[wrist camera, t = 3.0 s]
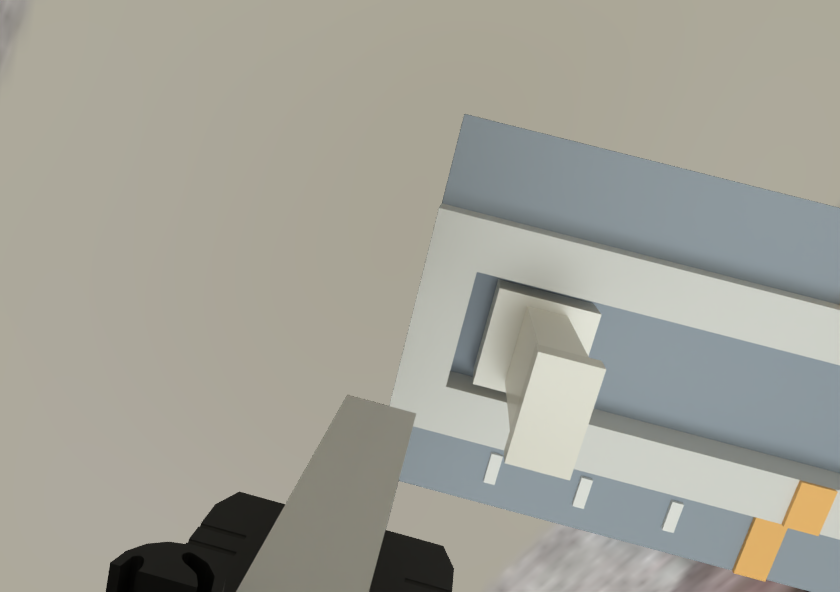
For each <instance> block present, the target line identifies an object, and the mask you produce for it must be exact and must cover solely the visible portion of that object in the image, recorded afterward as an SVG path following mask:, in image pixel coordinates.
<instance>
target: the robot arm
mask: <svg viewBox="0 0 840 592" xmlns="http://www.w3.org/2000/svg"><path fill="white" fill-rule="evenodd" d="M415 417H416V413H413V412H409V411H406V410H402V409H398V408H395V407H391V406H387V405H384V404H380V403H376V402H372V401H369V400H365V399H361V398H358V397H354V396H350V395H347V396H346V398H345V400H344V401H343V404H342V405H341V407H340V409H339V410H338V412H337V414H336V416H335V418H334V419H333V421H332V423H331V425H330V426H329V428H328V430H327V432H326V434H325V435H324V437H323V439H322V441H321V442H320V444H319V446H318V448H317V449H316V451H315V453H314V455H313V456H312V458H311V460H310V462H309V464H308V465H307V467H306V469H305V471H304V472H303V474H302V476H301V478H300V479H299V481H298V483H297V485H296V486H295V489H294V490H293V492H292V494H291V495H290V497H289V499H288V501H287V502H286V504H282V503H278V502H275V501H271V500H267V499H264V498H260V497H256V496H253V495H249V494H246V493H242V492H238V493H236V494H234V495H232V496H230V497H229V498H227V499H225V500H223V501H221V502H219V503H217V504H215V506H214V507H213V508H212V510H211V511H210V512H209V514H208V515H207V516H206V518H205V519H204V520H203V522H202V523H201V526H200V527H198V528H197V529H196V531H195V532H194V533H193V535H192V536H191V537H190V539H189V542H188V543H186V544H181V543H174V542H161V543H151V544H145V545H142V546H139V547H137V548H134V549H131V550H128V551H125V552H124V553H123V554H121V555H120V556H119V557H118V558H116V559H115V560H114V561H112V562H111V563H110V569H109V575H108V581H107V588H106V592H452V584H453V572H454V568H453V566H452V564H451V562H450V559H449V557H448V556H447V553H446V551H445V549H444V547H443V546H441V545H438V544H434V543H430V542H427V541H423V540H420V539H416V538H412V537H409V536H405V535H402V534H398V533H394V532H391V531H387V530H386V527H387V523H388V520H389V516H390V512H391V508H392V504H393V501H394V497H395V493H396V489H397V486H398V482H399V478H400V474H401V470H402V466H403V463H404V459H405V455H406V451H407V447H408V444H409V440H410V436H411V432H412V428H413V424H414V421H415Z"/></svg>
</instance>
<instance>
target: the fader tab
mask: <svg viewBox="0 0 840 592" xmlns="http://www.w3.org/2000/svg"><path fill="white" fill-rule="evenodd" d="M601 315H602V314H601V313H600V312H599V310H598V309H597V307H596V306H595V305H594V304H592V303H589V302H585V301H581V300H577V299H573V298H569V297H565V296H561V295H558V294H554V293H550V292H546V291H542V290H538V289H534V288H530V287H527V286H523V285H519V284H515V283H511V282H507V281H503V280H499V279H498V282H497V286H496V290H495V293H494V297H493V300H492V304H491V308H490V311H489V315H488V318H487V322H486V326H485V329H484V333H483V336H482V340H481V343H480V347H479V351H478V354H477V358H476V361H475V365H474V369H473V384H475V385H479V386H483V387H487V388H490V389H494V390H498V391H502V392H506V397H507V407H508V416H509V426H510V432H509V435H508V439H507V442H506V445H505V449H504V462H505V463H506V464H509V465H513V466H517V467H521V468H524V469H528V470H532V471H536V472H539V473H543V474H547V475H551V476H554V477H558V478H562V479H566V480H569V481H570V479H571V476H572V473H573V470H574V467H575V463H576V460H577V457H578V454H579V451H580V448H581V445H582V442H583V439H584V436H585V433H586V430H587V427H588V424H589V421H590V418H591V415H592V412H593V409H594V406H595V403H596V400H597V396H598V393H599V390H600V387H601V384H602V381H603V378H604V375H605V372H606V368H605V366H604V364H603V363H602V361H600V360H596V359H593V358H589V357H588V356H589V353H590V350H591V347H592V343H593V340H594V337H595V334H596V331H597V328H598V325H599V322H600V318H601Z"/></svg>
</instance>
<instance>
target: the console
mask: <svg viewBox="0 0 840 592" xmlns="http://www.w3.org/2000/svg"><path fill="white" fill-rule="evenodd" d="M498 279H499V280H503V281H507V282H511V283H515V284H519V285H523V286H527V287H530V288H534V289H538V290H542V291H546V292H550V293H554V294H558V295H561V296H565V297H569V298H573V299H577V300H581V301H585V302H589V303H592V304H594V305H595V306H596V307H597V309H598V310H599V312H600V313H601V314H602V315H601V318H600V322H599V325H598V328H597V331H596V334H595V337H594V340H593V343H592V347H591V350H590V353H589V356H588V357H589V358H593V359H596V360H600V361H602V363H603V364H604V366H605V368H606V372H605V375H604V378H603V381H602V384H601V387H600V390H599V393H598V396H597V400H596V403H595V406H594V409H593V412H592V415H591V418H590V421H589V424H588V427H587V430H586V433H585V436H584V439H583V442H582V445H581V448H580V451H579V454H578V457H577V460H576V463H575V467H574V470H573V473H572V476H571V479H570V481H569V480H566V479H562V478H558V477H554V476H551V475H547V474H543V473H539V472H536V471H532V470H528V469H524V468H521V467H517V466H513V465H509V464H506V463H505V462H504V449H505V445H506V442H507V439H508V435H509V432H510V426H509V416H508V407H507V397H506V392H502V391H498V390H494V389H490V388H487V387H483V386H479V385H475V384H473V369H474V365H475V361H476V358H477V354H478V351H479V347H480V343H481V340H482V336H483V333H484V329H485V326H486V322H487V318H488V315H489V311H490V308H491V304H492V300H493V297H494V293H495V290H496V286H497V282H498ZM389 406H391V407H395V408H398V409H402V410H406V411H409V412H413V413H416V417H415V421H414V424H413V428H412V432H411V436H410V440H409V444H408V447H407V451H406V455H405V459H404V463H403V466H402V470H401V474H400V478H399V481H402V482H405V483H409V484H413V485H416V486H420V487H424V488H427V489H431V490H435V491H439V492H442V493H446V494H450V495H454V496H457V497H461V498H465V499H469V500H472V501H476V502H480V503H484V504H487V505H491V506H494V507H498V508H502V509H506V510H509V511H513V512H517V513H521V514H524V515H528V516H532V517H536V518H539V519H543V520H546V521H550V522H554V523H558V524H561V525H565V526H569V527H572V528H576V529H580V530H584V531H587V532H591V533H595V534H599V535H602V536H606V537H610V538H613V539H617V540H621V541H625V542H628V543H632V544H636V545H639V546H643V547H647V548H651V549H654V550H658V551H662V552H665V553H669V554H673V555H677V556H680V557H684V558H688V559H692V560H695V561H699V562H703V563H706V564H710V565H714V566H718V567H721V568H725V569H729V570H732V571H733V573H735V574H739V575H742V576H746V577H750V578H753V579H757V580H761V581H766V580H770V581H773V582H777V583H781V584H785V585H788V586H792V587H796V588H799V589H803V590H807V591H811V592H840V208H838V207H834V206H830V205H826V204H822V203H818V202H814V201H810V200H806V199H802V198H798V197H794V196H790V195H786V194H782V193H778V192H774V191H770V190H766V189H762V188H758V187H754V186H750V185H747V184H742V183H739V182H735V181H730V180H727V179H723V178H719V177H715V176H710V175H706V174H703V173H699V172H695V171H691V170H687V169H682V168H679V167H675V166H671V165H667V164H663V163H659V162H655V161H651V160H647V159H643V158H639V157H635V156H631V155H627V154H623V153H619V152H615V151H611V150H607V149H603V148H599V147H595V146H591V145H587V144H583V143H578V142H575V141H571V140H567V139H563V138H559V137H555V136H551V135H547V134H543V133H539V132H535V131H531V130H527V129H523V128H519V127H515V126H511V125H507V124H503V123H499V122H495V121H491V120H487V119H483V118H479V117H475V116H471V115H467V114H464V118H463V122H462V125H461V129H460V133H459V138H458V141H457V146H456V149H455V153H454V157H453V161H452V165H451V169H450V173H449V177H448V181H447V185H446V189H445V193H444V197H443V201H442V204H441V205H440V207H439V210H438V214H437V218H436V222H435V226H434V230H433V234H432V237H431V241H430V246H429V249H428V253H427V257H426V261H425V266H424V269H423V273H422V277H421V281H420V285H419V290H418V293H417V297H416V302H415V305H414V310H413V313H412V317H411V321H410V325H409V329H408V333H407V337H406V341H405V345H404V349H403V353H402V357H401V361H400V365H399V369H398V373H397V377H396V381H395V385H394V389H393V393H392V397H391V401H390V405H389Z"/></svg>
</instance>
